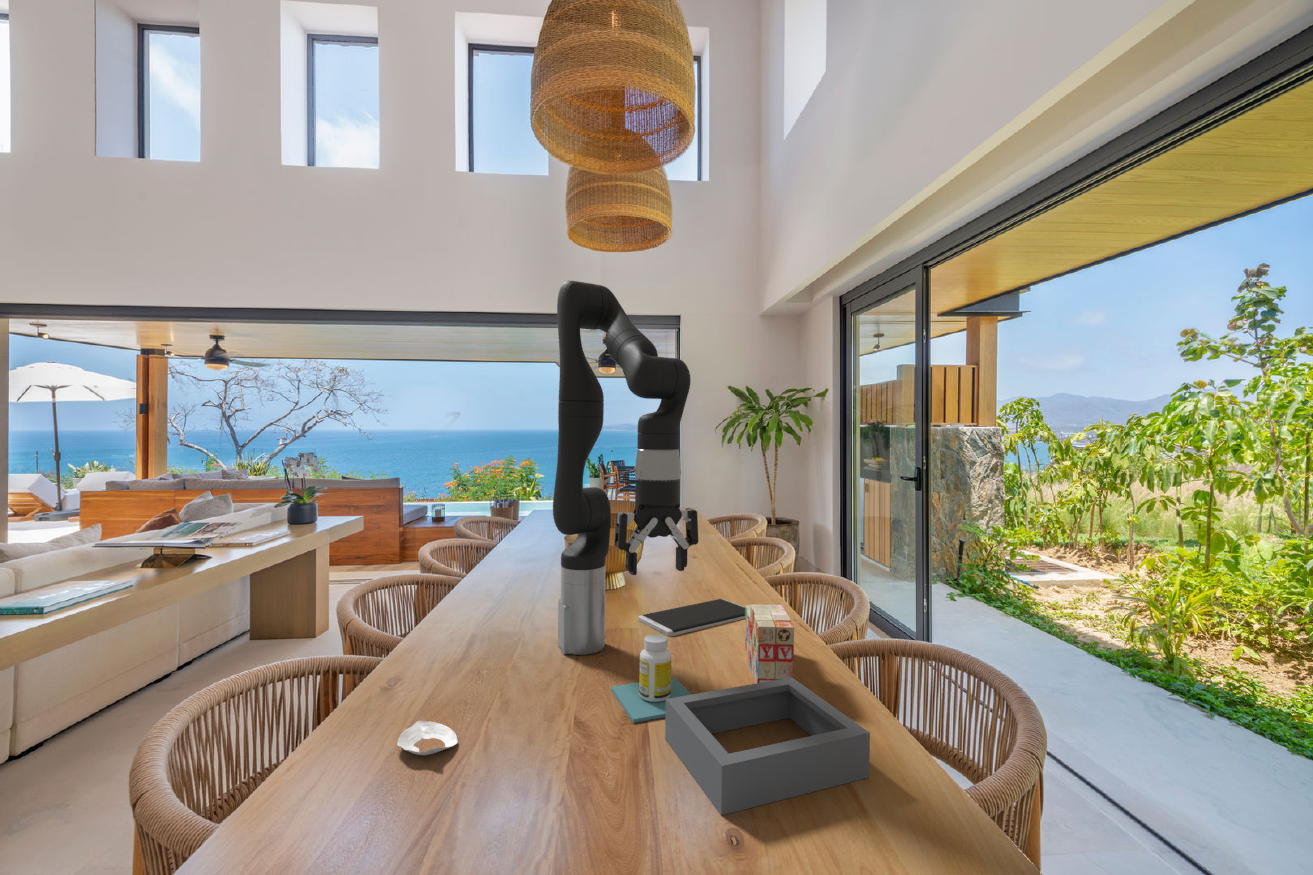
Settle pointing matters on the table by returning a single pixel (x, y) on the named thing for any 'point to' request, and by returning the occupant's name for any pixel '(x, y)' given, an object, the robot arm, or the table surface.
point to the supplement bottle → (655, 669)
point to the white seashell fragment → (426, 736)
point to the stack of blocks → (769, 642)
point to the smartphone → (693, 617)
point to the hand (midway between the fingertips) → (656, 572)
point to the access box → (769, 769)
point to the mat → (642, 708)
